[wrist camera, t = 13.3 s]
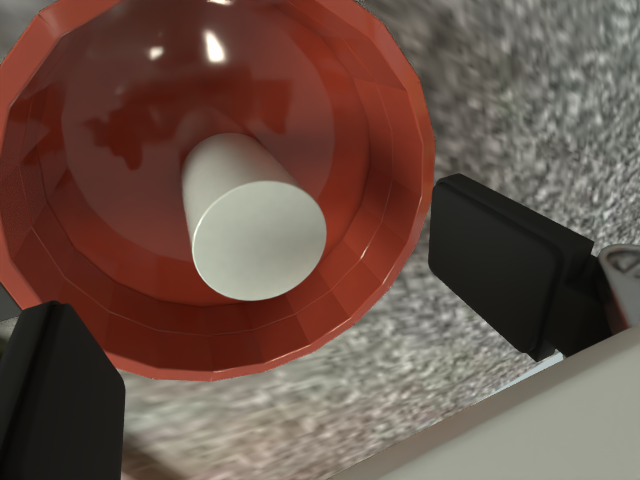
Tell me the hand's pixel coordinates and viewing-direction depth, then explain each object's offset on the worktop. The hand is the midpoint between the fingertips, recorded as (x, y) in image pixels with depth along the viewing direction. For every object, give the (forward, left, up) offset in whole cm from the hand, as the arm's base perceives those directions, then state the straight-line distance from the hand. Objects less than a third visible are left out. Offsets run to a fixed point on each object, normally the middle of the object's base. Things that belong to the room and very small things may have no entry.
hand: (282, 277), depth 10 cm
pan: (0, 0, -9) cm, 9 cm away
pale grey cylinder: (+1, 0, -9) cm, 9 cm away
